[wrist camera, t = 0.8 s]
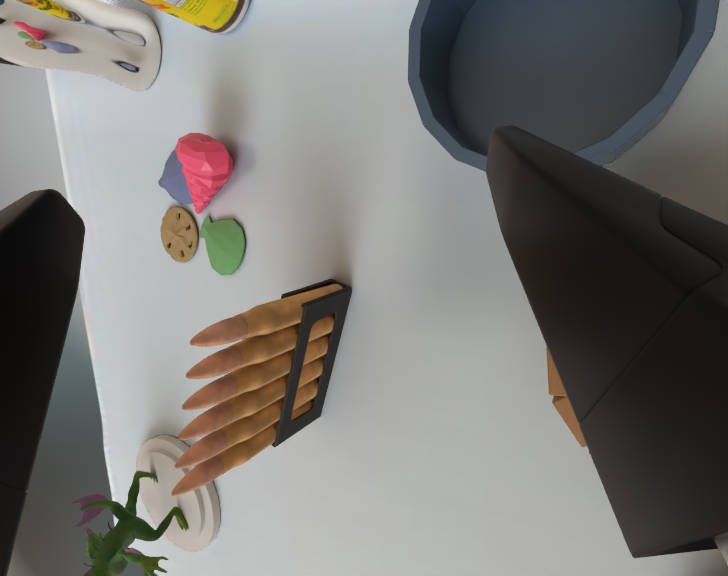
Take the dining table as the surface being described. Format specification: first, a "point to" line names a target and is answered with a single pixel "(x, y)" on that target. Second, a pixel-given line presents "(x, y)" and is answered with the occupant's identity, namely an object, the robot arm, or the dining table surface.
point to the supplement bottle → (205, 12)
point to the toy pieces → (200, 203)
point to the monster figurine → (152, 512)
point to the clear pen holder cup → (81, 39)
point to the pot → (552, 70)
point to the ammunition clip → (262, 379)
